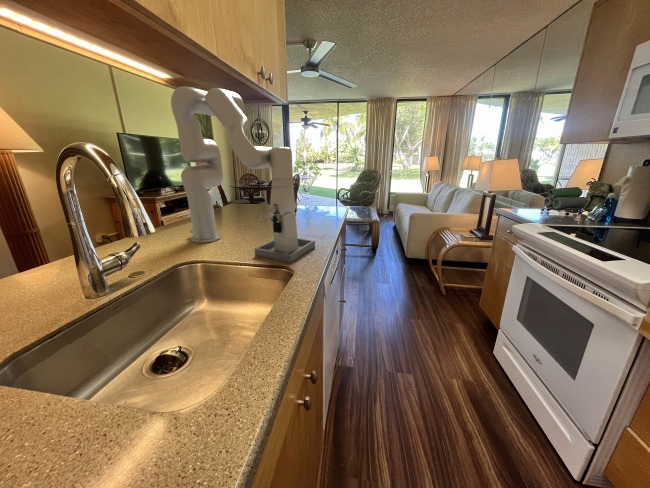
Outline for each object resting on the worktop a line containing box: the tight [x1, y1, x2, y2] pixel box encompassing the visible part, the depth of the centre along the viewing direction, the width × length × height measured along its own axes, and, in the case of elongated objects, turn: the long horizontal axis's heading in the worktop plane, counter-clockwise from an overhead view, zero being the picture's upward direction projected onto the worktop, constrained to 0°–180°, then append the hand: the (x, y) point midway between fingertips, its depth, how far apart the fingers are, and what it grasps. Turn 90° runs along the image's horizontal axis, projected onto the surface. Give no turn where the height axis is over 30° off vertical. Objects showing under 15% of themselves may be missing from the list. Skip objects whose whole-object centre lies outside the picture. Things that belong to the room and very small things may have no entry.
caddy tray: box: [254, 237, 316, 265], centre depth 103 cm, size 16×18×3 cm
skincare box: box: [271, 213, 298, 254], centre depth 101 cm, size 8×6×15 cm
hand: (285, 229), depth 100 cm, fingers open, 9 cm apart
